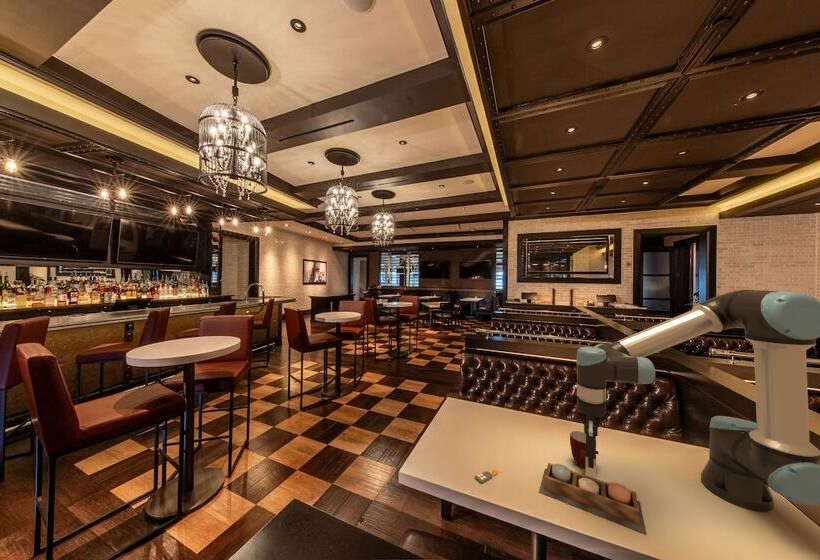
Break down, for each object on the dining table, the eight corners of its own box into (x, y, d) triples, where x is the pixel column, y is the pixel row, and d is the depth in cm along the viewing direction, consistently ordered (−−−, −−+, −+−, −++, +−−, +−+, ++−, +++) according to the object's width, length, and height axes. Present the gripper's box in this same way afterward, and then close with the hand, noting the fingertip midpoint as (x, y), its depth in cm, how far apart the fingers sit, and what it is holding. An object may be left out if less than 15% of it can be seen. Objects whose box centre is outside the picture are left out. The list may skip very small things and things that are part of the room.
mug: (599, 479, 95) (600, 450, 94) (571, 472, 98) (572, 444, 98) (593, 461, 104) (593, 434, 104) (568, 455, 107) (568, 429, 107)
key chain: (481, 486, 91) (482, 482, 91) (473, 479, 94) (473, 475, 94) (508, 472, 98) (508, 468, 98) (500, 466, 101) (500, 462, 101)
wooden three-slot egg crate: (639, 502, 85) (640, 489, 85) (646, 535, 74) (646, 520, 74) (545, 469, 99) (545, 457, 99) (538, 492, 88) (539, 479, 88)
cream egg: (598, 492, 88) (598, 482, 88) (598, 503, 83) (599, 492, 83) (578, 485, 90) (579, 475, 90) (578, 495, 86) (578, 485, 86)
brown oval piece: (629, 498, 83) (629, 487, 83) (631, 510, 79) (631, 498, 79) (607, 490, 86) (608, 480, 86) (608, 501, 82) (608, 490, 82)
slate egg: (570, 477, 92) (571, 467, 92) (569, 487, 87) (569, 477, 87) (553, 471, 94) (553, 461, 94) (551, 480, 90) (551, 470, 90)
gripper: (577, 389, 94) (577, 459, 94) (575, 404, 83) (575, 483, 83) (605, 394, 90) (605, 468, 90) (606, 410, 79) (606, 494, 79)
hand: (590, 475), depth 87 cm, fingers closed
